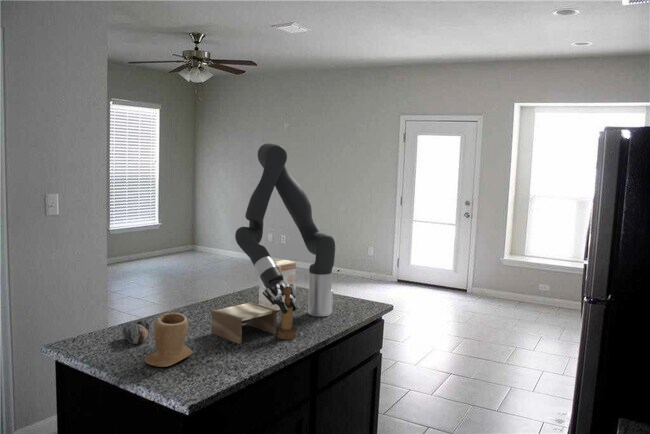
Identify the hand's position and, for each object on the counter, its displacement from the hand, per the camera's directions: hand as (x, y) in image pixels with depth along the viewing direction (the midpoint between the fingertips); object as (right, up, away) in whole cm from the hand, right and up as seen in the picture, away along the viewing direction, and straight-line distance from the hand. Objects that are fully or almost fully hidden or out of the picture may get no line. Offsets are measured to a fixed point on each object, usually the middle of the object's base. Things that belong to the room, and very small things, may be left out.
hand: (291, 311), depth 194 cm
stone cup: (-35, -12, -24) cm, 44 cm away
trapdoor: (-17, -6, +5) cm, 19 cm away
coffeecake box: (-8, -6, +39) cm, 41 cm away
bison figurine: (-51, -9, -6) cm, 52 cm away
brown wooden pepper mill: (-2, -10, +2) cm, 10 cm away
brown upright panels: (-17, -9, +5) cm, 20 cm away
